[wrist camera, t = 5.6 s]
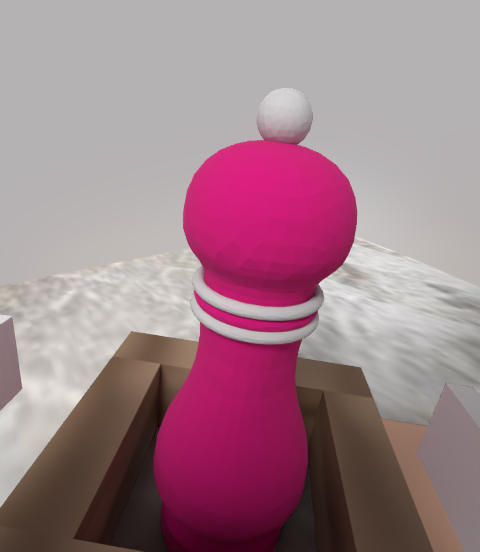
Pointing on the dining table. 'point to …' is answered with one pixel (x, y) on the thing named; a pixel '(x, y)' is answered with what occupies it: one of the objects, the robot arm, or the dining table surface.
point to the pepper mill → (250, 333)
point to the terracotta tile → (421, 485)
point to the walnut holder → (149, 414)
